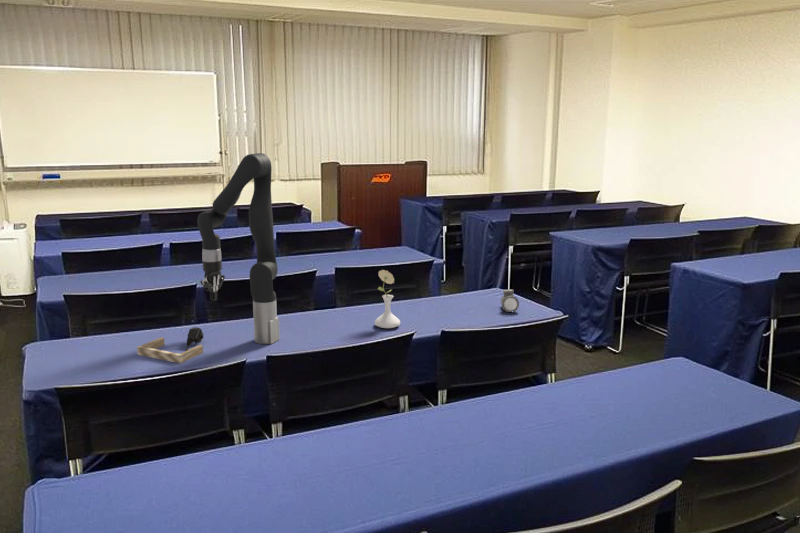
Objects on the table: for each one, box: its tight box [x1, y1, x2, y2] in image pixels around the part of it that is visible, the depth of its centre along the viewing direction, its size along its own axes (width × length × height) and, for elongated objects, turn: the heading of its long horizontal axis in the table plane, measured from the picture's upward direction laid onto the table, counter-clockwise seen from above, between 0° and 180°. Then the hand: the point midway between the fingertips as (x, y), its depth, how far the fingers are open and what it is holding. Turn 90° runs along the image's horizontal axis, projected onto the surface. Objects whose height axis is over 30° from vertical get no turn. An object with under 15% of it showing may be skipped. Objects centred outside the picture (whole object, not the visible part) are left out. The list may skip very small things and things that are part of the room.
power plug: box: [184, 327, 204, 352], centre depth 256 cm, size 6×8×12 cm
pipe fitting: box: [500, 288, 520, 313], centre depth 309 cm, size 12×8×10 cm
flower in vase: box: [374, 269, 401, 329], centre depth 280 cm, size 13×11×25 cm
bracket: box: [136, 337, 204, 364], centre depth 246 cm, size 21×12×3 cm, turn 66°
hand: (213, 299), depth 267 cm, fingers closed
